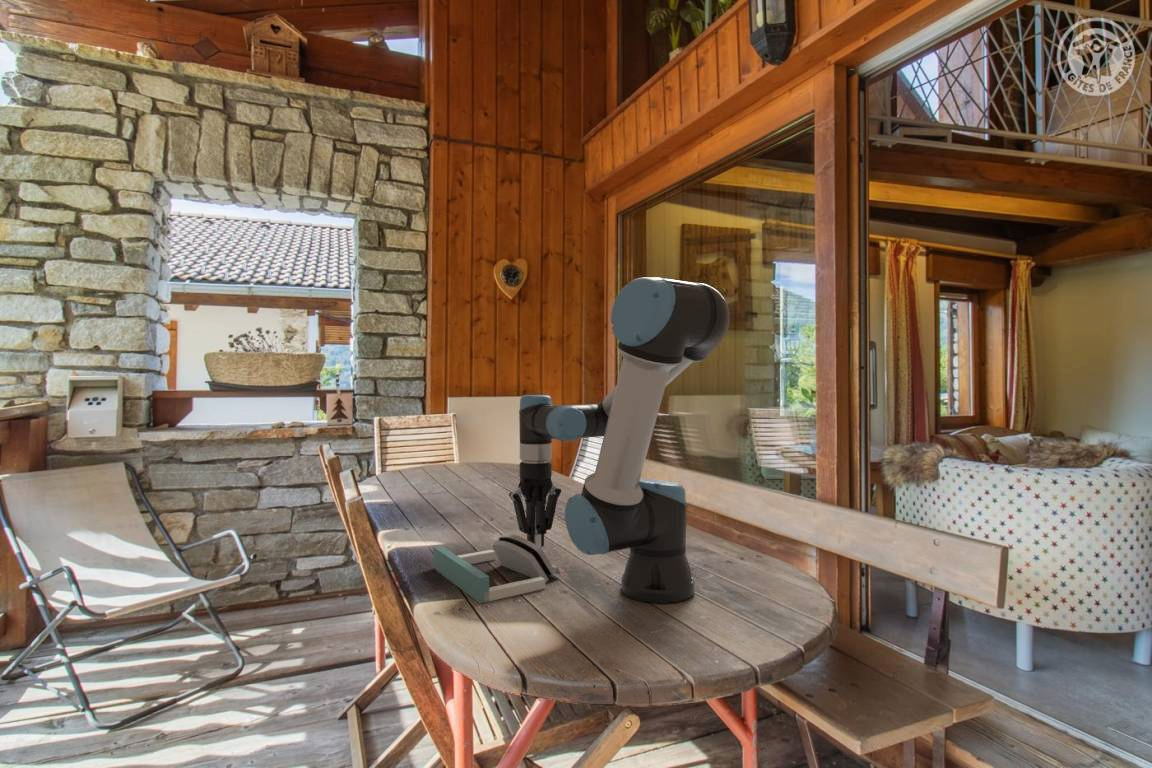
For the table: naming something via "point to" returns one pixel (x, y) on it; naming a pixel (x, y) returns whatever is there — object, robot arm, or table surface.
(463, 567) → the guide bay
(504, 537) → the grey half-round casing
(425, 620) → the table surface
